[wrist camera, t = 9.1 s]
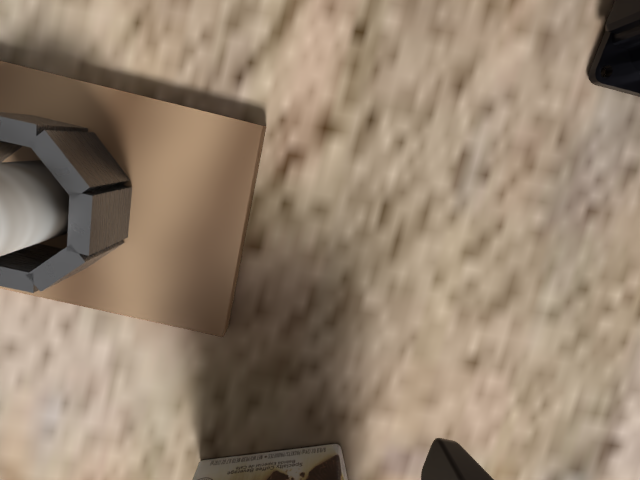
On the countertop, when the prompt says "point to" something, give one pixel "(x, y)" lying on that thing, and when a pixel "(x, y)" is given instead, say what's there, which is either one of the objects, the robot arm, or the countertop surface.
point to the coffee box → (278, 465)
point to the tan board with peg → (139, 199)
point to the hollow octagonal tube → (84, 200)
